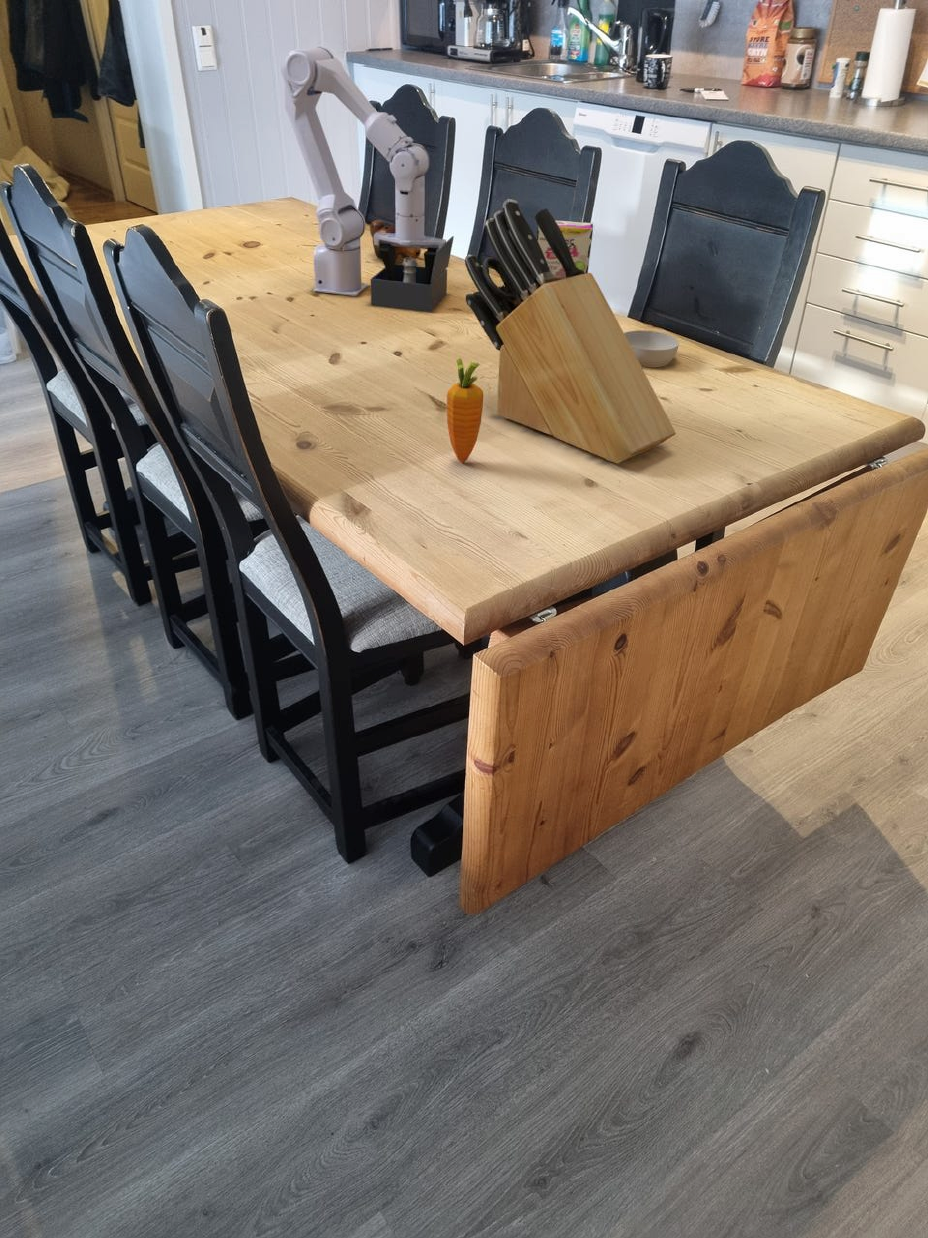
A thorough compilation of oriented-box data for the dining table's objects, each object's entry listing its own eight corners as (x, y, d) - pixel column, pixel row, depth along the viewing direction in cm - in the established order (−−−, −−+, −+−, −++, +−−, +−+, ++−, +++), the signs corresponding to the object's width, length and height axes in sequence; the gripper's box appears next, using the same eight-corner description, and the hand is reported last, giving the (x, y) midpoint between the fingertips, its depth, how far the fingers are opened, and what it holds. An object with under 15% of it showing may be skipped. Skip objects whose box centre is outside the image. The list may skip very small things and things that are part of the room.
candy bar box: (530, 308, 192) (536, 223, 182) (531, 300, 196) (537, 218, 186) (584, 311, 191) (593, 227, 182) (584, 304, 195) (593, 221, 186)
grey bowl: (667, 373, 164) (670, 352, 161) (570, 355, 169) (573, 334, 167) (682, 355, 172) (685, 334, 169) (589, 338, 178) (592, 318, 175)
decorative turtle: (381, 249, 225) (384, 214, 220) (431, 266, 218) (434, 230, 214) (355, 255, 218) (357, 219, 213) (405, 272, 211) (408, 235, 207)
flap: (446, 265, 194) (448, 266, 194) (430, 281, 184) (432, 282, 184) (452, 235, 190) (453, 236, 190) (436, 250, 180) (437, 250, 180)
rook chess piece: (423, 297, 194) (424, 257, 190) (415, 302, 191) (416, 262, 186) (403, 294, 195) (403, 254, 191) (395, 300, 192) (395, 259, 187)
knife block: (501, 382, 157) (513, 184, 139) (674, 451, 137) (714, 230, 119) (453, 399, 150) (460, 192, 133) (628, 473, 131) (663, 243, 113)
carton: (446, 295, 197) (447, 269, 194) (430, 312, 187) (431, 285, 184) (389, 288, 199) (389, 263, 196) (371, 305, 189) (370, 278, 186)
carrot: (443, 455, 133) (446, 352, 125) (478, 455, 134) (483, 352, 125) (446, 470, 129) (449, 365, 121) (481, 470, 130) (487, 366, 121)
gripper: (368, 214, 181) (370, 285, 189) (440, 221, 179) (438, 292, 187) (379, 207, 187) (380, 276, 195) (449, 213, 185) (447, 283, 192)
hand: (409, 284), depth 191 cm, fingers open, 7 cm apart
